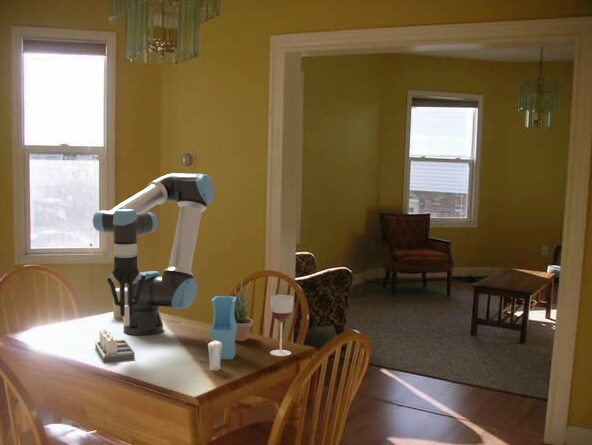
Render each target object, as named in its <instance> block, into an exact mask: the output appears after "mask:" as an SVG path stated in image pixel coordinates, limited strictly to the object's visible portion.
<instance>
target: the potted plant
mask: <svg viewBox="0 0 592 445" xmlns="http://www.w3.org/2000/svg"><path fill="white" fill-rule="evenodd" d="M251 282H252V281H251V279H250V280H249V282H248V284H247V287H246V288H245V291H244V293H243V276H241V280H240V289H239V291H238V292H237V291H236V290H237V289H236V286H235V285H233V291H234V297H237V299H236V303H235V308H234V316H235V321H236V324H237V329H236V334H235V342H244V341H247V340H248V337H249V334H250V330H251V328H252V326H253V323H254V321H253V319H251V318H248V314H249V311H250V308H248V307H249V306H250V305H251V301H252V299H251V300H250V296H251V295H250V294H249V296H248V297H247V298H246V295H247V293H248V291H249V288H250V285H251ZM230 297H233V296H232V295H230ZM245 298H246V299H245ZM246 304H247V305H246ZM247 308H248V309H247Z"/></svg>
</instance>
